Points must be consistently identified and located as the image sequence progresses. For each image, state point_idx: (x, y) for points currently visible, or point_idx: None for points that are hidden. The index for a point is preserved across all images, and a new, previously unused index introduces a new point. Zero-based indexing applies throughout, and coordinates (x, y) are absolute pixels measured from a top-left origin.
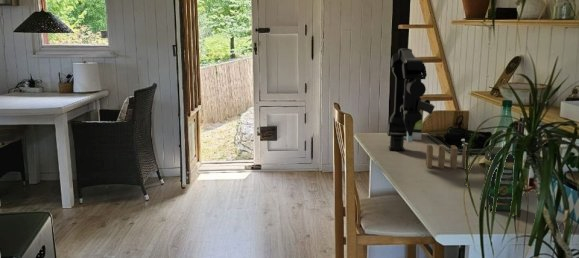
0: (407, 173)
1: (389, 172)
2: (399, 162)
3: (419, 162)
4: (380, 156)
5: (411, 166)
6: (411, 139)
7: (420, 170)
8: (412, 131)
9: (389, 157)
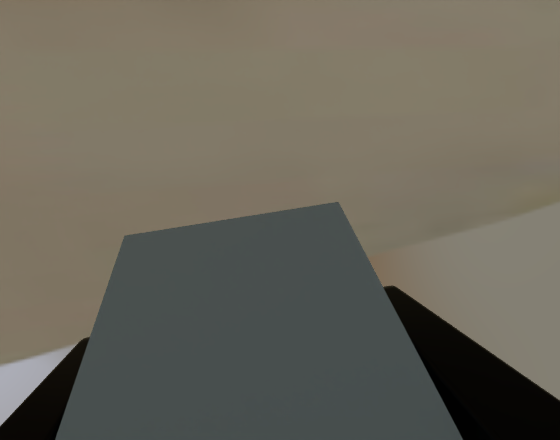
0: (462, 114)
1: (441, 229)
2: (148, 191)
3: (58, 9)
4: (27, 325)
5: (246, 89)
6: (351, 239)
7: (364, 2)
8: (466, 345)
9: (20, 272)
